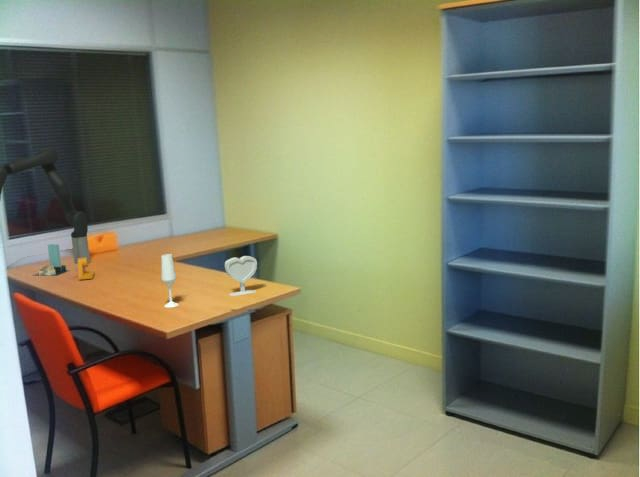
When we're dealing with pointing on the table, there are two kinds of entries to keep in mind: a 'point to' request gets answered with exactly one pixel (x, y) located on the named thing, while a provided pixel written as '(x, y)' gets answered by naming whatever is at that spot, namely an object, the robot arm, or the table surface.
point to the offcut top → (46, 268)
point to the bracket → (81, 269)
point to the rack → (58, 271)
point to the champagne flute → (168, 275)
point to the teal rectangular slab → (54, 255)
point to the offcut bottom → (47, 272)
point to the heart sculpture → (241, 271)
